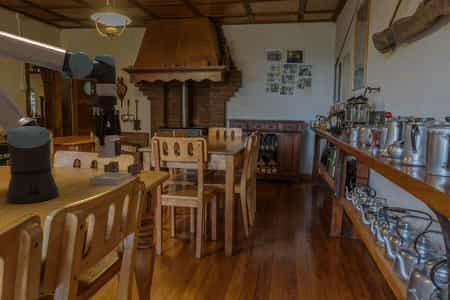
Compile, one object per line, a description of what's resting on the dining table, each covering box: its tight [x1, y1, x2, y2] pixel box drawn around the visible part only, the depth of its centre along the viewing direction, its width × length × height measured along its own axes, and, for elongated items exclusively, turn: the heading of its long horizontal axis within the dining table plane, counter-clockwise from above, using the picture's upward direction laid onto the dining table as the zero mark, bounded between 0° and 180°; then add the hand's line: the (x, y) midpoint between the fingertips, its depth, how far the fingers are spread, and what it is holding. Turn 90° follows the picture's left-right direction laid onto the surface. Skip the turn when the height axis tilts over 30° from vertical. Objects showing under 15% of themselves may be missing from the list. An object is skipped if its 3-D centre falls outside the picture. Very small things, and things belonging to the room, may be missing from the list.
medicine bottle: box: [96, 126, 122, 159], centre depth 131 cm, size 7×7×12 cm
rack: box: [103, 160, 142, 178], centre depth 146 cm, size 10×12×5 cm
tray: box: [88, 172, 132, 186], centre depth 133 cm, size 12×12×2 cm
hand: (109, 152), depth 131 cm, fingers closed on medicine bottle, 8 cm apart
